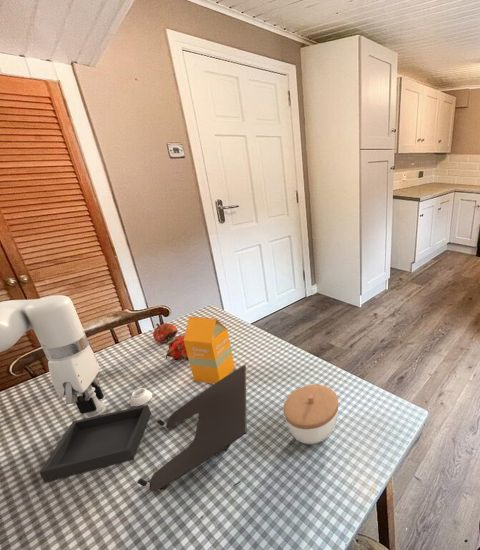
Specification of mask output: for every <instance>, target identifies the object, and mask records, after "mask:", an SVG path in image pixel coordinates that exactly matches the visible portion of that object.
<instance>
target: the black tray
mask: <svg viewBox="0 0 480 550" xmlns="http://www.w3.org/2000/svg"><path fill="white" fill-rule="evenodd" d="M151 415H152V412H151V409H150V406H149V404H144V405H139V406H134V407H131V408H126V409H122V410H118V411H117V410H116V411H113V412H108V413H102V414H101V415H99V416H94V417H90V418H86V417H84V418H82V419H77V420H72V422H71V424H70V425H69V427H68V428H67V430H66V431H65V433H64V434H63V436H62V437H61V439H60V440H59V442H58V443H57V445H56V446H55V448H54V450H52V452H51V454H50V455H49V456H48V458H47V459H46V461H45V462H44V464H43V466H42V467H41V469H40V471H39V472H38V474H39V476H40V477H41V479H42V481H43V483H45V484H46V483H49V482H50V483H51V482H53V481H54V482H55V481H57V480H60V479H65V478H68V477H73V476H76V475H79V474H84V473H88V472H91V471H95V470H99V469H102V468H106V467H109V466H110V467H111V466H115V465H117V464H122V463H125V462H129V461H132V460H134V459H135V457H136V455H137V454H136V453H137V451H138V449H139V447H140V444H141V441H142V438H143V436H144V433H145V430H146V428H147V426H148V423H149V421H150V417H151Z"/></svg>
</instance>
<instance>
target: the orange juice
mask: <svg viewBox="0 0 480 550" xmlns="http://www.w3.org/2000/svg"><path fill="white" fill-rule="evenodd" d="M184 333H185V337H184V344H185V348H186V351H187V355H188V357H187V359H188V363H189V367H190V370H191V374H192V378H193V381H194V382H198V383H209V384H215V383H217V382H218V381H220V380H221V379H223V378H224V377H226V376H228V375H229V374H231V373H232V372H234V369H236V368H235V361H234V356H233V350H232V346H231V342H230V336H229V331H228V328H227V327H226V326H225V325H224V324H223V323H221V322H220V321H219V320H218V319H217V318H210V317H199V316H188V318H187V324H186V328H185V332H184Z"/></svg>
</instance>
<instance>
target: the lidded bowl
mask: <svg viewBox="0 0 480 550" xmlns="http://www.w3.org/2000/svg"><path fill="white" fill-rule="evenodd" d="M283 415H284V418H285V423H286V426H287V429H288V431H289V433H290V435H291V436H292V437H293V438H294V439H295V440H296V441H298V442H300V443H302V444H306V445H317V444H320V443H321V442H323V441H325V440H326V439H327V438H329V436H331V434H332V433H333V431H334V430H335V427H336V425H337V422H338V417H339V416H338V415H339V398H338V395H337V393H336V392H335V390H333V389H332V388H331V387H330V386H326V385H323V384H314V383H313V384H307V385H304V386H301V387H299V388H296V389H295V390H294V391H292V392H291V393H290V394H289V395H288V396H287V398H286V400H285V402H284V403H283Z"/></svg>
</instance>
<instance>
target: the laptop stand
mask: <svg viewBox="0 0 480 550" xmlns="http://www.w3.org/2000/svg"><path fill="white" fill-rule="evenodd" d="M197 414H198V419H197V425H196V431H195V435H194V438H193V440H192V442H191V443H190V444H189V445H188V446H187V447H186V448H184V449H183V450H182V451H180V452H179V453H178V454H176V455H175V456H173V457H172V458H171V459H170V460H168V461H167V462H166V463H165V464H163V465H162V466H161V467H160V468H159V469H157V470H156V471H155V472H154V473H153V474H152V475H151V478H150V481H149V482H148V481H147V480H146V479H143V478H139V479H138V480H137V484H138V485H140V486H141V487H143V488H146V489H149V491H150V492H152V493H153V492H158V490H159V491H165V490H167V488H168V487H169V485H170V484H171V483H173V482H175V481H177V480H178V479H179V478H182V477H183V476H185V475H187V474H188V473H189V472H191V471H193V470H194V469H196V468H197V467H199V466H200V465H202V464H203V463H205V462H206V461H208V460H209V459H211V458H212V457H214V456H215V455H217V454H218V453H221V451H223V450H224V453H227V451H228V450H229V448H230V447H231V445H232V444H233V443H234V442H236V441H237V440H238V439H240V438H241V437H243V436H244V435H247V434H248V433H247V431H248V430H247V426H248V425H247V365H246V364H244V365H242V366H241V367H239V368H237V369H236V370H233V371H232V372H231V373H230V374H229V375H228V376H226V377H224V378H223V379H221V380H220V381H218V382H217V383H213V384H212V385H210V386H209V387H207V388H206V389H204V390H203V391H202V392H200V393H199V394H197V395H195V396H194V397H193V398H191V399H190V400H189V401H187V402H186V403H185V404H183V405H181V406H180V407H178V408H177V409H176V410H174V412H173V413H172V414H171V415H170V417H169V418H168V420H167V423H166V422H165V421H163V420H162V419H158V420H157V421H156V423H157V424H159V426H161V427H163V428H166V429H170V428H172V427H174V426H176V425H179V424H180V423H182V422H184V421H185V420H187V419H190V418H191V417H193V416H194V415H197Z"/></svg>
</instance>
